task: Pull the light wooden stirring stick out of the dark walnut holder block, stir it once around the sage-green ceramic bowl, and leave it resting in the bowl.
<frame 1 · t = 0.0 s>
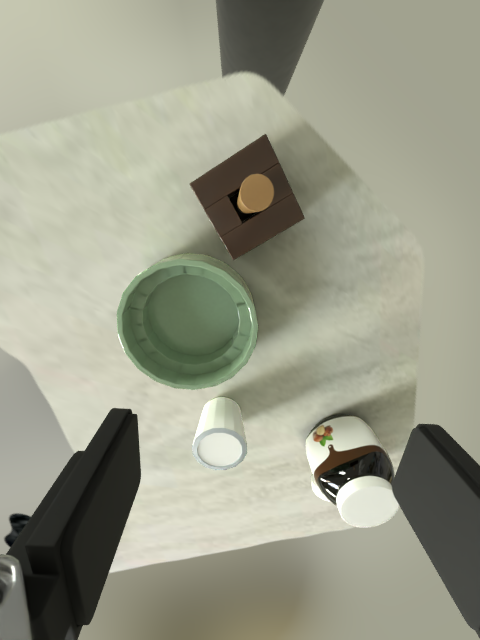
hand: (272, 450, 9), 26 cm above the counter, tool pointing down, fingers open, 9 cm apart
spread jar: (333, 442, 44), on the counter
stick holder: (245, 204, 31), on the counter
stirring stick: (249, 200, 24), in the stick holder
white cup: (221, 412, 41), on the counter
bowl: (194, 313, 35), on the counter
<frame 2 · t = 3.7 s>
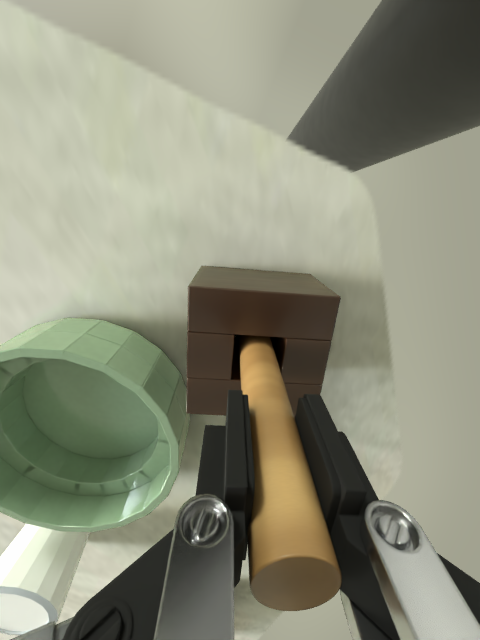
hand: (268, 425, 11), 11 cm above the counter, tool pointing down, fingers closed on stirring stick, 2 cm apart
stick holder: (251, 321, 21), on the counter
stirring stick: (261, 380, 13), in the stick holder, touching gripper
white cup: (64, 519, 28), on the counter
bowl: (99, 401, 23), on the counter
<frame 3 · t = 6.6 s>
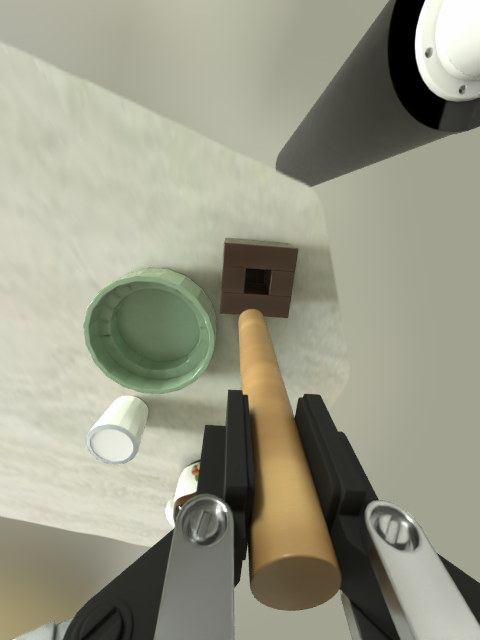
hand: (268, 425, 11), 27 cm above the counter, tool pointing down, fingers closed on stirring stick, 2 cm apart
spread jar: (204, 479, 49), on the counter
stick holder: (253, 271, 36), on the counter
stirring stick: (261, 379, 13), point 24 cm above the counter, touching gripper
white cup: (130, 409, 43), on the counter
bowl: (161, 323, 38), on the counter
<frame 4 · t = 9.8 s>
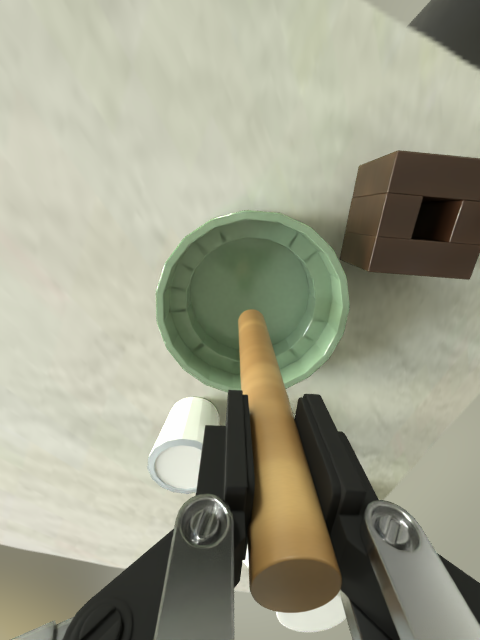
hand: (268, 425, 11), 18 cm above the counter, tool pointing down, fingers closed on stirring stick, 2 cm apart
spread jar: (281, 503, 38), on the counter
stick holder: (391, 218, 25), on the counter
stirring stick: (261, 380, 13), point 15 cm above the counter, touching gripper
white cup: (194, 415, 32), on the counter
bowl: (249, 295, 27), on the counter
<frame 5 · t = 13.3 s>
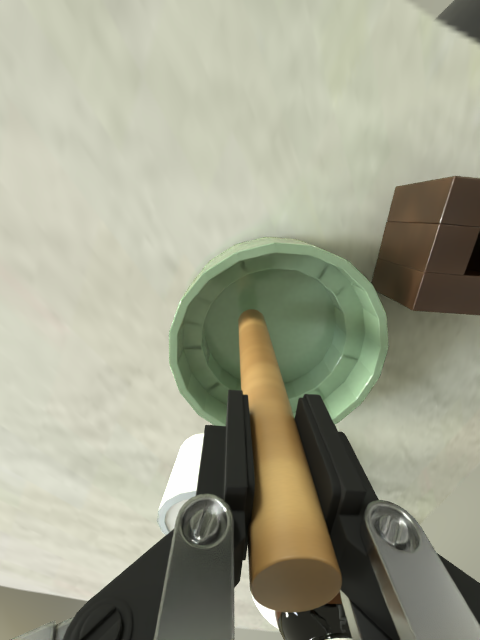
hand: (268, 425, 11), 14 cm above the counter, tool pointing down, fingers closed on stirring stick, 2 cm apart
spread jar: (297, 541, 35), on the counter
stick holder: (429, 244, 22), on the counter
stirring stick: (261, 380, 13), point 11 cm above the counter, touching gripper
white cup: (206, 452, 30), on the counter
bowl: (269, 326, 25), on the counter
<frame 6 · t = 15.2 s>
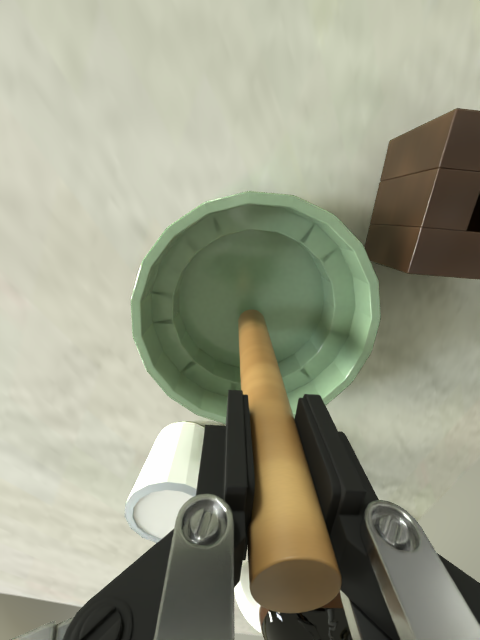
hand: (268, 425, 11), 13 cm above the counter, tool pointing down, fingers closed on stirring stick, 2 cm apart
spread jar: (286, 540, 33), on the counter
stick holder: (426, 208, 20), on the counter
stirring stick: (261, 380, 13), point 10 cm above the counter, touching gripper
white cup: (186, 442, 27), on the counter
bowl: (251, 301, 22), on the counter
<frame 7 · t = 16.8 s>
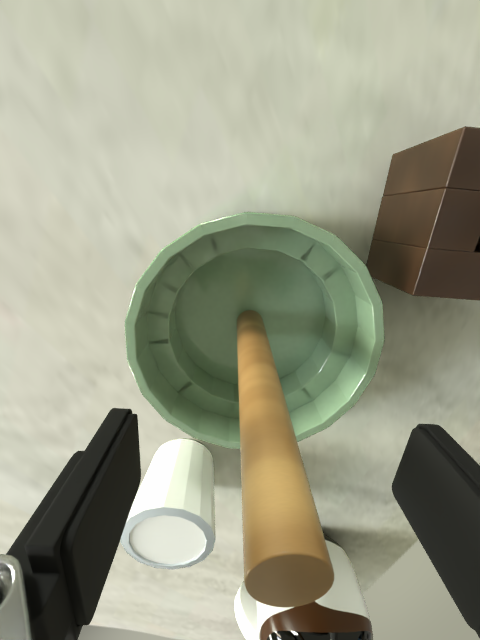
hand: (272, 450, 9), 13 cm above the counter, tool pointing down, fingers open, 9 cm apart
spread jar: (287, 556, 32), on the counter
stick holder: (431, 223, 19), on the counter
stirring stick: (258, 380, 14), in the bowl, point 9 cm above the counter
white cup: (184, 460, 27), on the counter
bowl: (250, 318, 22), on the counter
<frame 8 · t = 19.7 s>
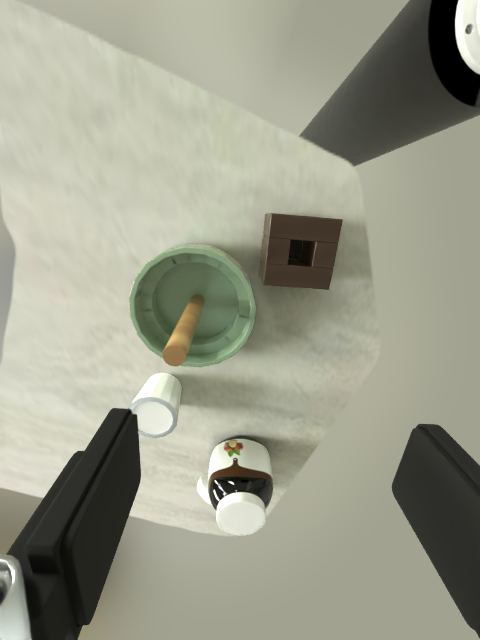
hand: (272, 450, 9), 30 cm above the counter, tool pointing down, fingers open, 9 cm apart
spread jar: (233, 458, 50), on the counter
stick holder: (291, 247, 37), on the counter
stirring stick: (188, 322, 31), in the bowl, point 9 cm above the counter
white cup: (164, 387, 44), on the counter
bowl: (198, 299, 39), on the counter
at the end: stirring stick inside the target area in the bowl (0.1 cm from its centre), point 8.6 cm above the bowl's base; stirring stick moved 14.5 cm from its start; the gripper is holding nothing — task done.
